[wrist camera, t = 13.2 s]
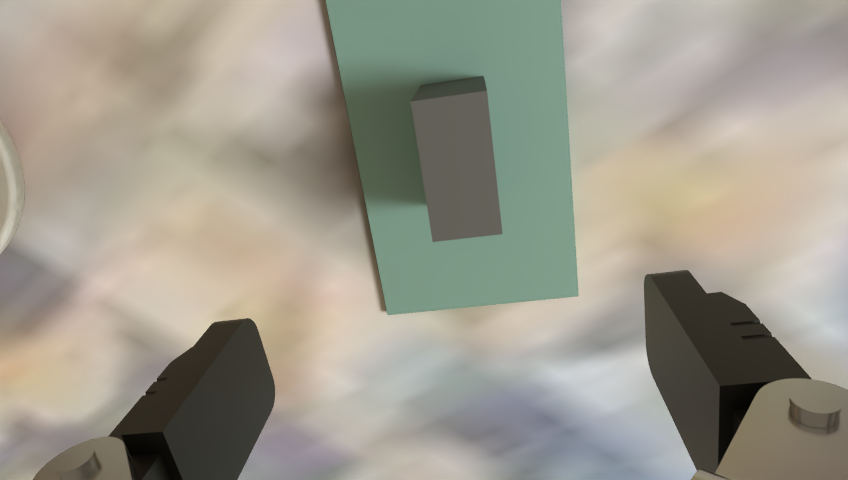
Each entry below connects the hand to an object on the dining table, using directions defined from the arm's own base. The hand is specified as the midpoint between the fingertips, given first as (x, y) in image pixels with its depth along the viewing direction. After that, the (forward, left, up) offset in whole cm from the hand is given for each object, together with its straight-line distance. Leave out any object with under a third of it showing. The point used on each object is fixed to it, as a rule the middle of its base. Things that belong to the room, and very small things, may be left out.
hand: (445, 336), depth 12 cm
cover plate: (0, 0, -19) cm, 19 cm away
